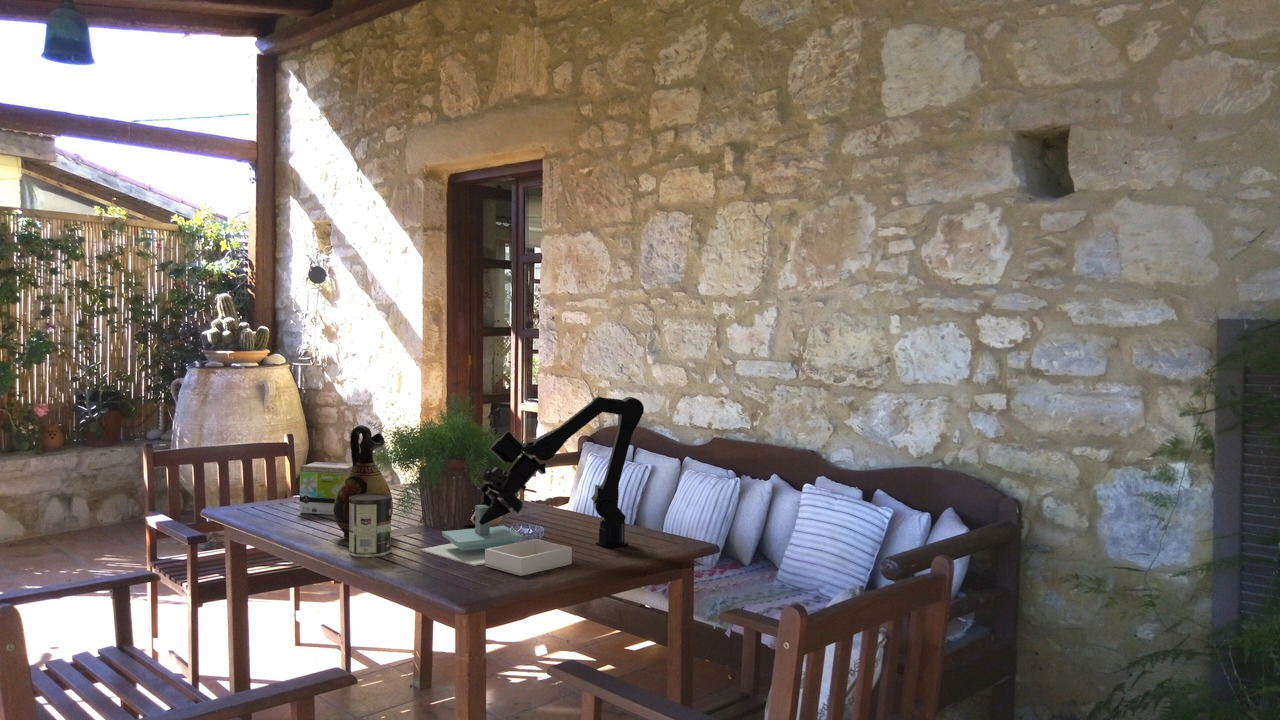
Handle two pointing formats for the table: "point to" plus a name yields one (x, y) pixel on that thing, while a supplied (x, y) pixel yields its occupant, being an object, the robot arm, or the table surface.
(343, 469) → the tea box
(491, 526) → the pottery oil lamp
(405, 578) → the table surface
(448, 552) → the grey mat
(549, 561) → the parts tub
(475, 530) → the teal lid
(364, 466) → the ceramic jug
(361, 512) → the coffee can
